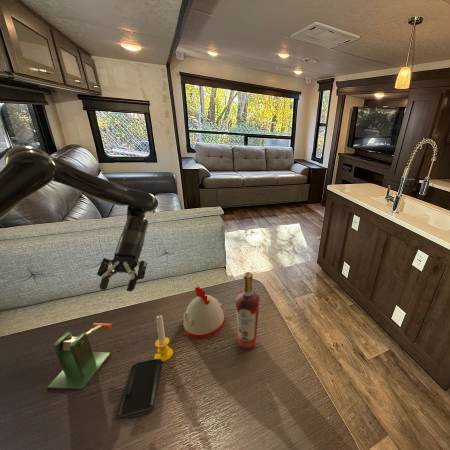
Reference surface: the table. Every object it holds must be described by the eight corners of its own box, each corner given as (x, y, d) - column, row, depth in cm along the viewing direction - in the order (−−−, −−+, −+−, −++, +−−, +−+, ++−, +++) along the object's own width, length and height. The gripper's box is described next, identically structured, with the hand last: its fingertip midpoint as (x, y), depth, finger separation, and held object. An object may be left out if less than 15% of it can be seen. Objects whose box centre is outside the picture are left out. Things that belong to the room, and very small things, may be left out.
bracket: (80, 354, 75) (69, 322, 70) (111, 355, 76) (102, 323, 71) (47, 390, 65) (31, 356, 60) (83, 391, 66) (70, 357, 61)
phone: (162, 357, 75) (153, 408, 62) (162, 360, 76) (154, 411, 63) (132, 364, 72) (116, 418, 60) (132, 366, 73) (117, 421, 60)
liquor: (233, 351, 81) (231, 280, 70) (240, 333, 88) (239, 266, 77) (255, 353, 81) (257, 283, 70) (260, 335, 87) (262, 269, 76)
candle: (150, 358, 76) (144, 316, 71) (165, 346, 80) (161, 306, 75) (162, 365, 74) (157, 323, 69) (177, 352, 78) (173, 312, 73)
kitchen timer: (211, 304, 99) (209, 273, 94) (231, 323, 91) (231, 290, 86) (176, 322, 89) (172, 289, 84) (196, 345, 81) (192, 310, 76)
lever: (95, 328, 78) (95, 320, 78) (111, 329, 78) (112, 321, 78) (56, 350, 65) (57, 341, 64) (76, 351, 65) (77, 342, 65)
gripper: (103, 239, 85) (85, 287, 79) (146, 242, 86) (132, 290, 80) (116, 246, 92) (101, 290, 86) (155, 248, 93) (143, 293, 86)
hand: (116, 290), depth 83 cm, fingers open, 8 cm apart
